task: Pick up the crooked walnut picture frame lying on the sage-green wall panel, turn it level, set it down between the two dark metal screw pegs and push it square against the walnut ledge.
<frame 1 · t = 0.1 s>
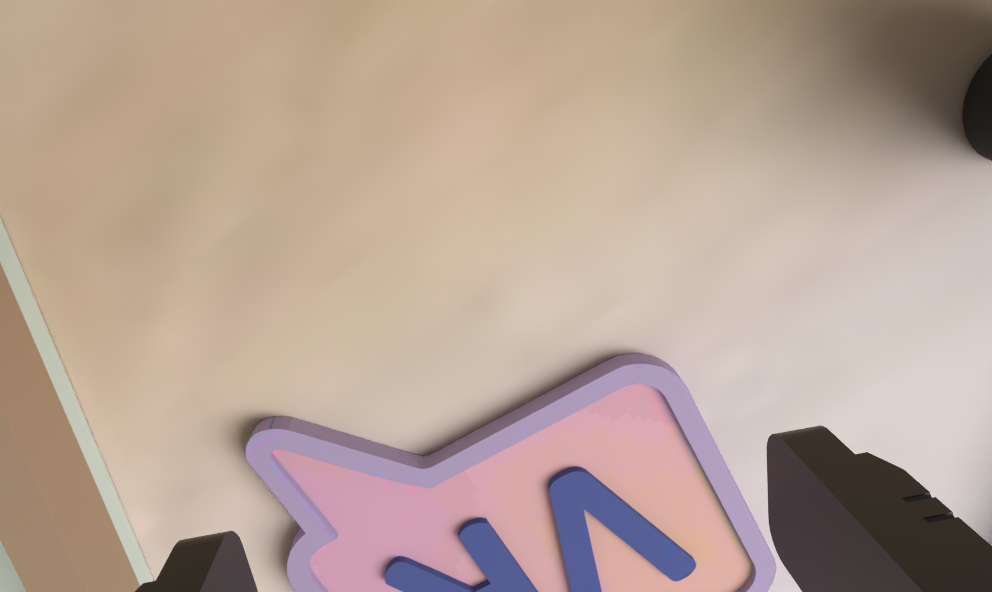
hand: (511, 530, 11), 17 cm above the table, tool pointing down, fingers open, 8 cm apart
icon: (510, 510, 32), on the table
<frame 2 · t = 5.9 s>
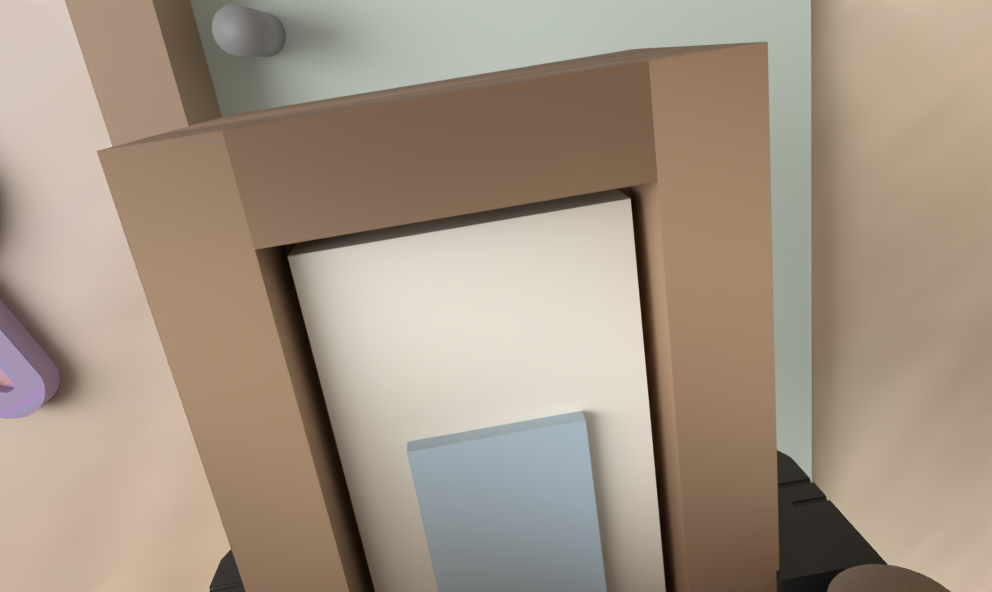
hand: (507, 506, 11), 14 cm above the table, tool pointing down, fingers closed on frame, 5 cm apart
wall panel: (513, 259, 24), on the table
frame: (506, 487, 12), point 13 cm above the table, touching gripper
when the fingers open (3 cm above the table, at t = 8.2 s): frame drops 1 cm, resting on wall panel.
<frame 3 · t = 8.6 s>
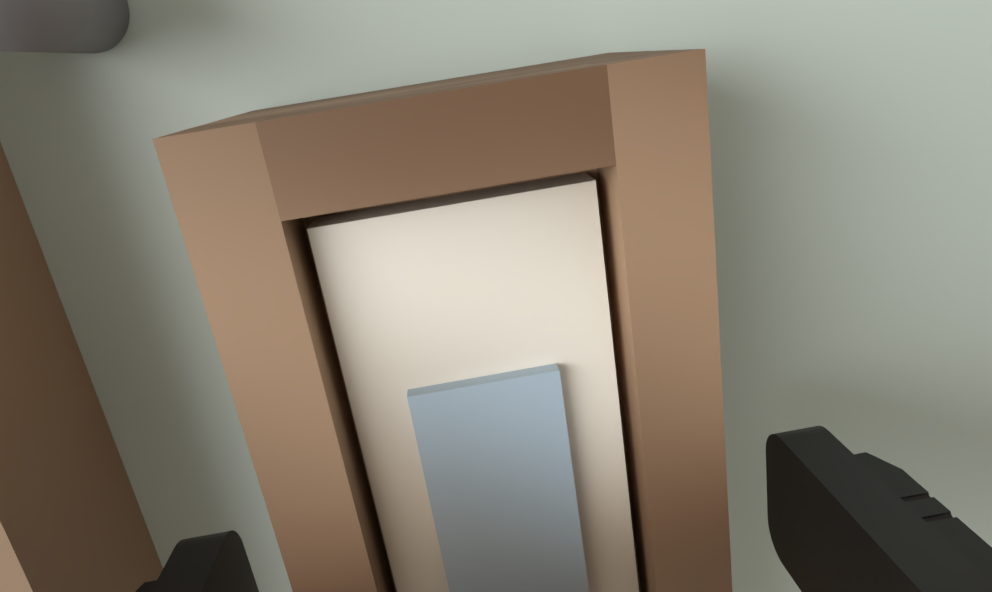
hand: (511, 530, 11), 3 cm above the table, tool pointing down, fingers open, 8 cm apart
wall panel: (568, 407, 14), on the table
frame: (496, 448, 13), point 1 cm above the table, touching wall panel
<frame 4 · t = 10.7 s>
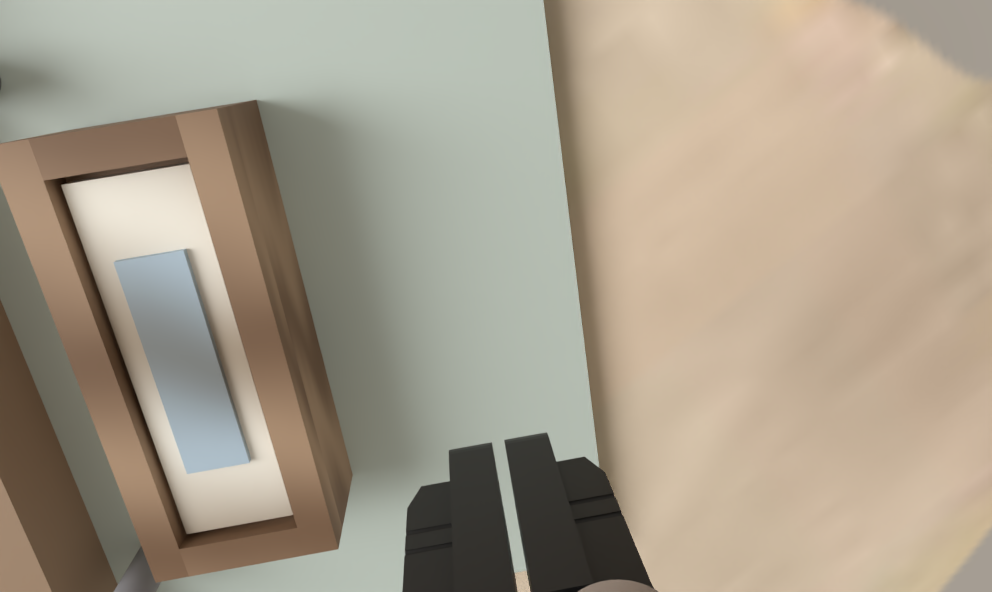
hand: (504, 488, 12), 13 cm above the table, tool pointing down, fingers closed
wall panel: (277, 300, 24), on the table
frame: (224, 319, 23), point 1 cm above the table, touching wall panel
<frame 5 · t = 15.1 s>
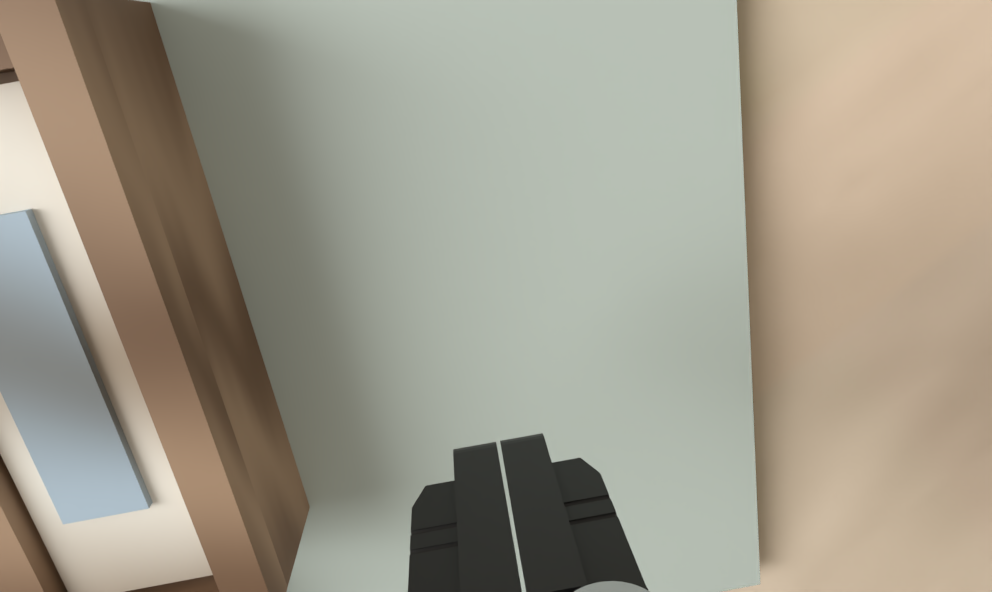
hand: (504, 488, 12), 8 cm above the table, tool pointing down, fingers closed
wall panel: (349, 265, 18), on the table
frame: (128, 309, 17), point 1 cm above the table, touching wall panel
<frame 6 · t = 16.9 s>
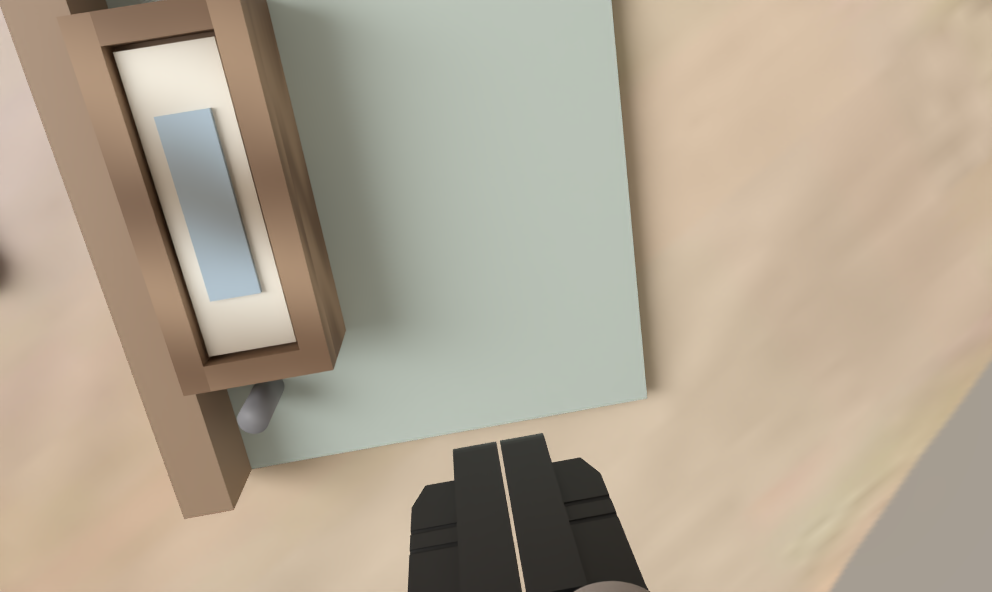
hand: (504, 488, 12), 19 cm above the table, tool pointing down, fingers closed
wall panel: (375, 168, 28), on the table
frame: (239, 189, 27), point 1 cm above the table, touching wall panel
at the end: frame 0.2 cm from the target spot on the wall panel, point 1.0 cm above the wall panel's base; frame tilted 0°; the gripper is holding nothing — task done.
